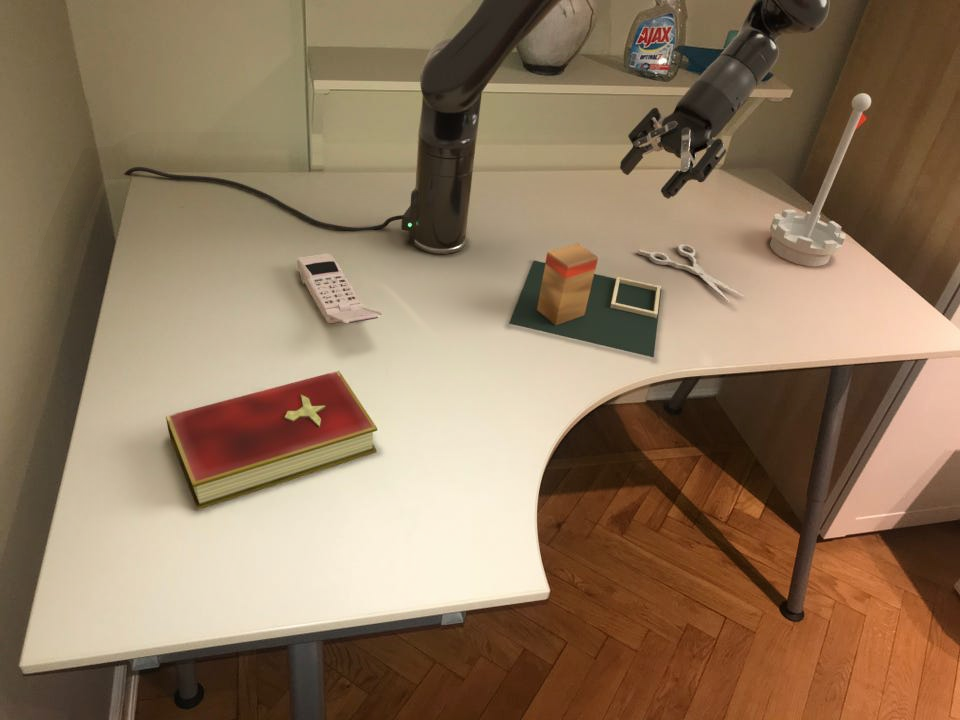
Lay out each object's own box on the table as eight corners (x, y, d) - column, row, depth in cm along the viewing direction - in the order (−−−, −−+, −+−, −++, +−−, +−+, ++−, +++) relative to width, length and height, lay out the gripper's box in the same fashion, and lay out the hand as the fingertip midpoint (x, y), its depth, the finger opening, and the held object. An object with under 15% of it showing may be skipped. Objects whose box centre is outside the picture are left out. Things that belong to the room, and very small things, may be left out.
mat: (508, 325, 115) (509, 318, 114) (533, 262, 131) (534, 256, 130) (652, 360, 112) (655, 353, 112) (660, 291, 128) (662, 284, 127)
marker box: (536, 310, 119) (547, 251, 112) (565, 300, 122) (577, 242, 115) (555, 325, 116) (567, 266, 109) (584, 315, 119) (598, 257, 112)
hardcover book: (169, 438, 90) (164, 412, 87) (337, 392, 99) (337, 366, 97) (197, 510, 82) (192, 483, 79) (376, 452, 92) (377, 426, 89)
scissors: (680, 239, 142) (763, 293, 129) (679, 242, 142) (761, 297, 130) (638, 249, 137) (719, 307, 124) (637, 253, 137) (718, 311, 125)
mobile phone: (342, 322, 101) (289, 232, 118) (341, 357, 105) (290, 264, 122) (385, 315, 104) (327, 227, 121) (383, 349, 108) (327, 259, 124)
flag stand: (812, 276, 138) (884, 113, 119) (751, 244, 145) (810, 86, 127) (847, 257, 145) (919, 101, 127) (787, 228, 152) (848, 76, 134)
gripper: (672, 64, 113) (601, 150, 114) (749, 97, 104) (670, 189, 105) (687, 96, 119) (618, 177, 120) (760, 129, 110) (686, 216, 111)
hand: (643, 183), depth 113 cm, fingers open, 8 cm apart
